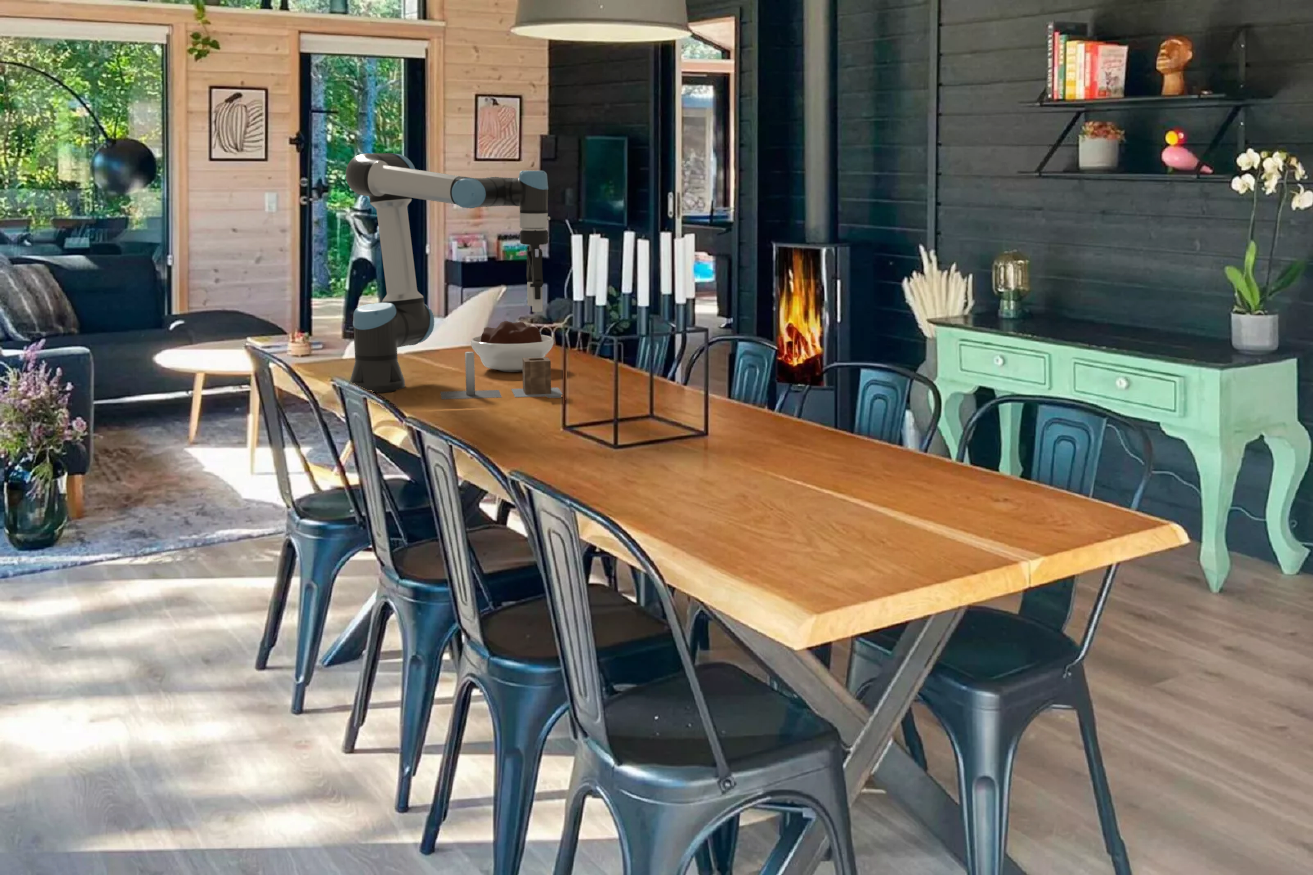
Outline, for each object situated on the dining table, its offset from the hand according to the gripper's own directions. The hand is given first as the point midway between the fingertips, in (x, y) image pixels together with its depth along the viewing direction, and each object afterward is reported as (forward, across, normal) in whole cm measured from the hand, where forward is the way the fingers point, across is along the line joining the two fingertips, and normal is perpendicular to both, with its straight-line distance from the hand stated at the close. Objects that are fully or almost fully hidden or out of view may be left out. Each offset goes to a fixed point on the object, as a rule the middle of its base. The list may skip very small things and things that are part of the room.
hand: (534, 308), depth 381 cm
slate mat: (+23, 0, 0) cm, 23 cm away
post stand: (+24, 0, +18) cm, 29 cm away
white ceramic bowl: (+24, +45, +3) cm, 51 cm away
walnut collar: (+23, 0, 0) cm, 23 cm away
